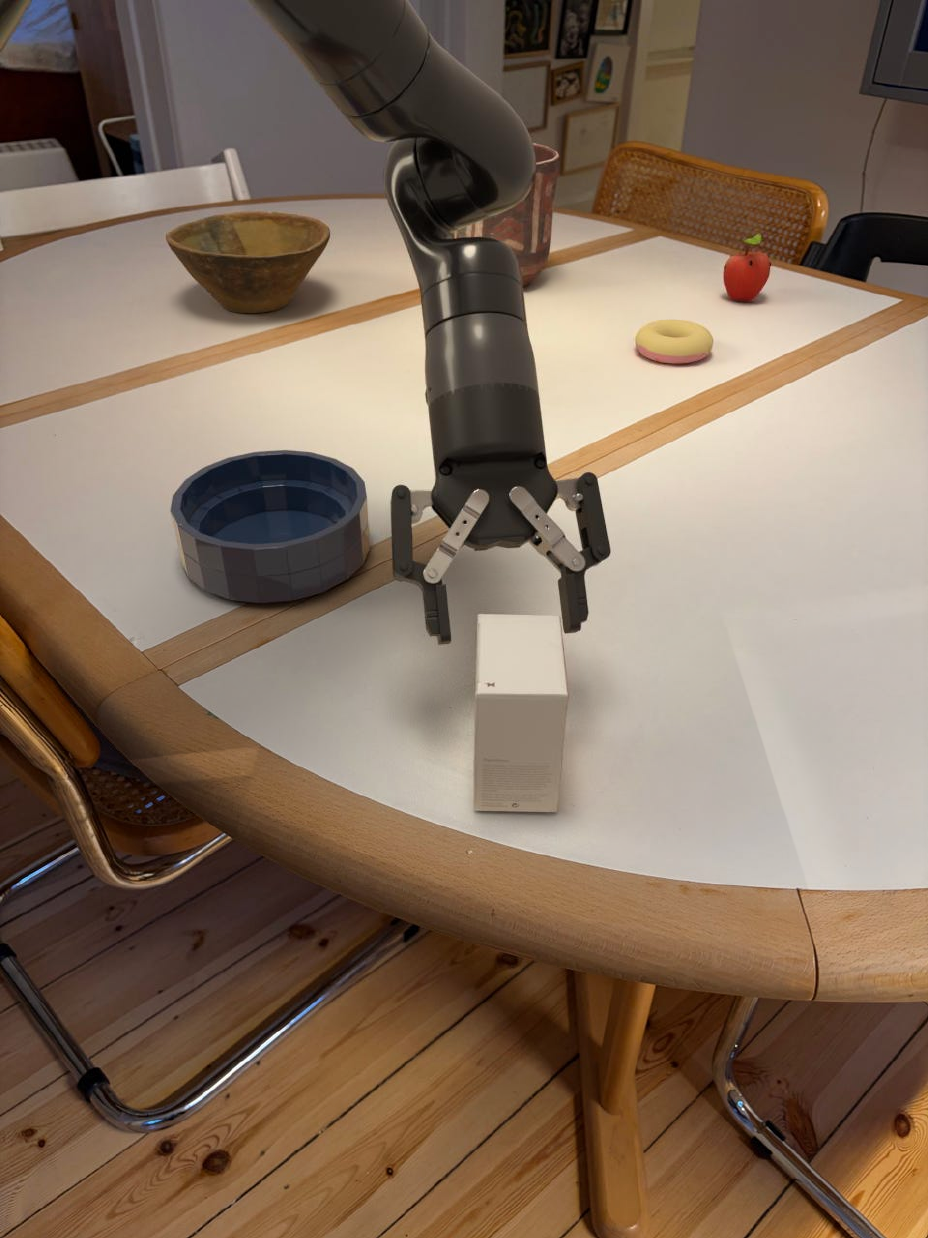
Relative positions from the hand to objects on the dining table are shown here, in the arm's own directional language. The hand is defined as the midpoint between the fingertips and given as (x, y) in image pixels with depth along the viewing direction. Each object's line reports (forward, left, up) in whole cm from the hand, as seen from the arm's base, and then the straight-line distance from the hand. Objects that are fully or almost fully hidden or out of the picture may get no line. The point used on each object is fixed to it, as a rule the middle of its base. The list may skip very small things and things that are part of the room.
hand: (509, 637), depth 61 cm
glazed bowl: (-16, +26, -9) cm, 32 cm away
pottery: (+17, +98, -9) cm, 100 cm away
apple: (+52, +84, -9) cm, 99 cm away
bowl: (-19, +92, -9) cm, 94 cm away
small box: (0, -3, -9) cm, 10 cm away
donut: (+35, +66, -9) cm, 75 cm away
